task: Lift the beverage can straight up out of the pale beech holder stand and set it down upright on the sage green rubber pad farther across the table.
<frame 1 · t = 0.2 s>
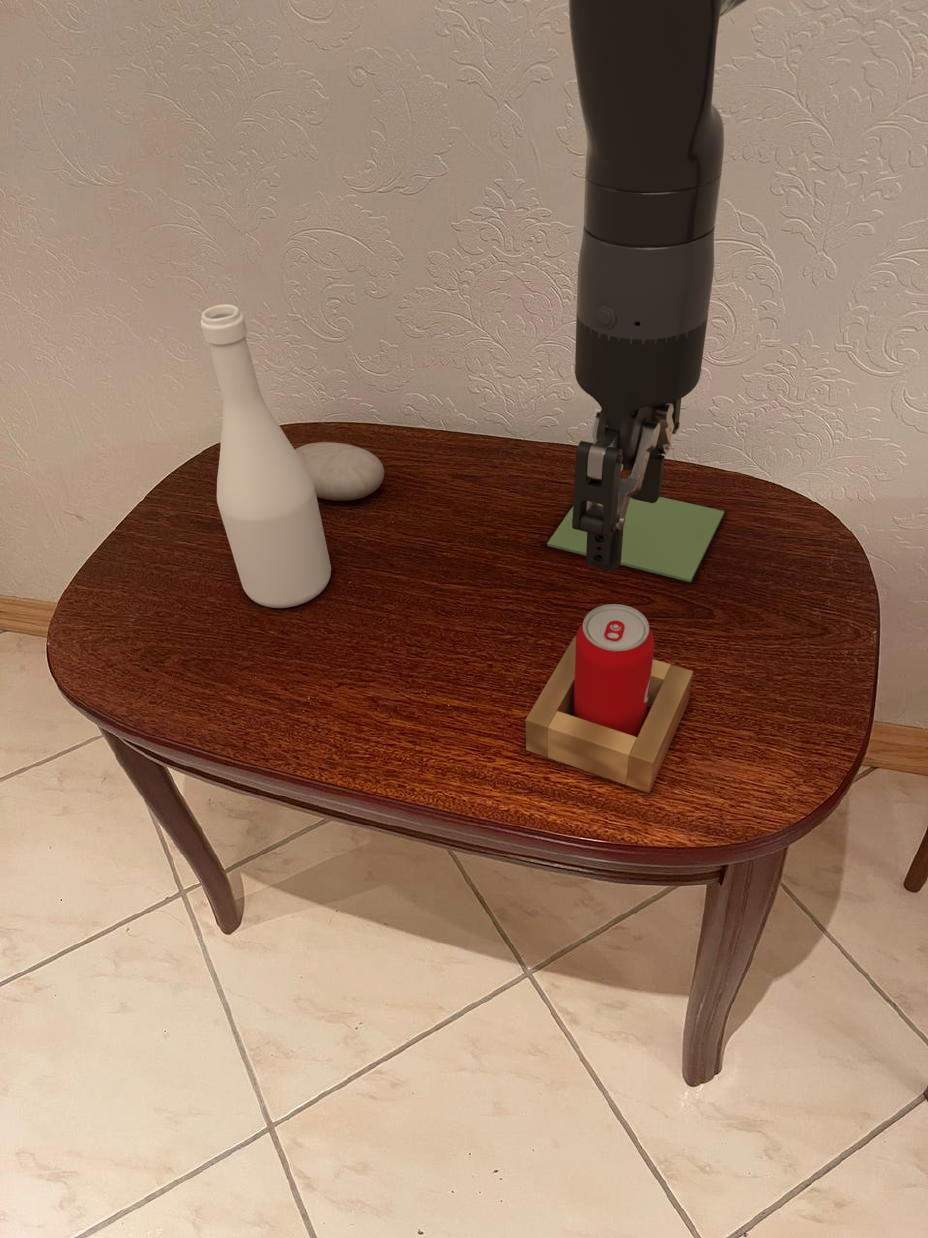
hand: (624, 530, 62), 22 cm above the table, tool pointing down, fingers open, 8 cm apart
stand: (608, 725, 78), on the table
decorative stone: (336, 490, 108), on the table
wine bottle: (289, 584, 95), on the table
pad: (636, 529, 98), on the table
beverage can: (608, 727, 78), resting in stand
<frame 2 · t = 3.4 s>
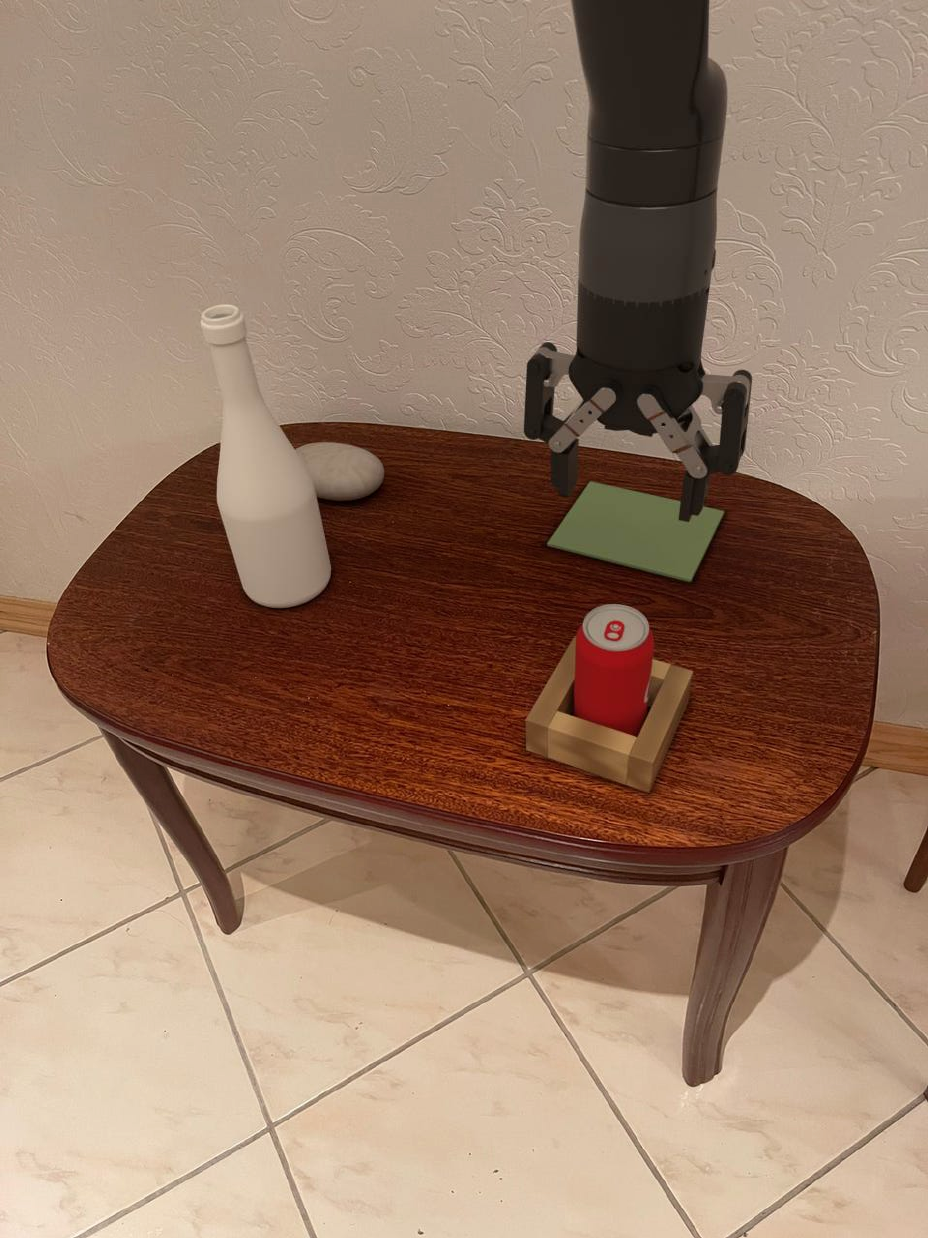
hand: (626, 502, 62), 24 cm above the table, tool pointing down, fingers open, 8 cm apart
nothing on the table moved.
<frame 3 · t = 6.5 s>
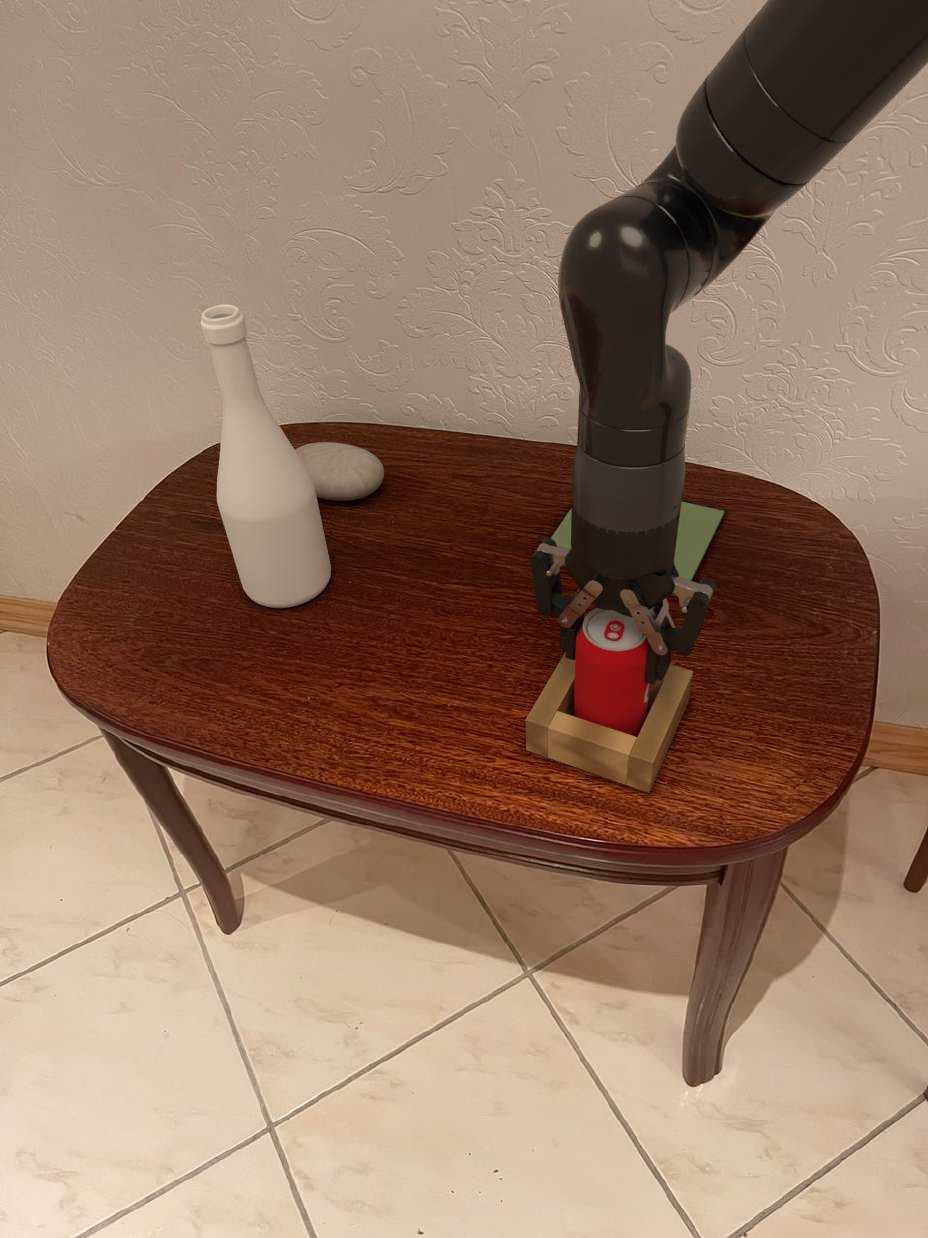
hand: (613, 664, 73), 8 cm above the table, tool pointing down, fingers closed on beverage can, 6 cm apart
beverage can: (608, 727, 78), resting in stand, touching gripper
everything else where it was.
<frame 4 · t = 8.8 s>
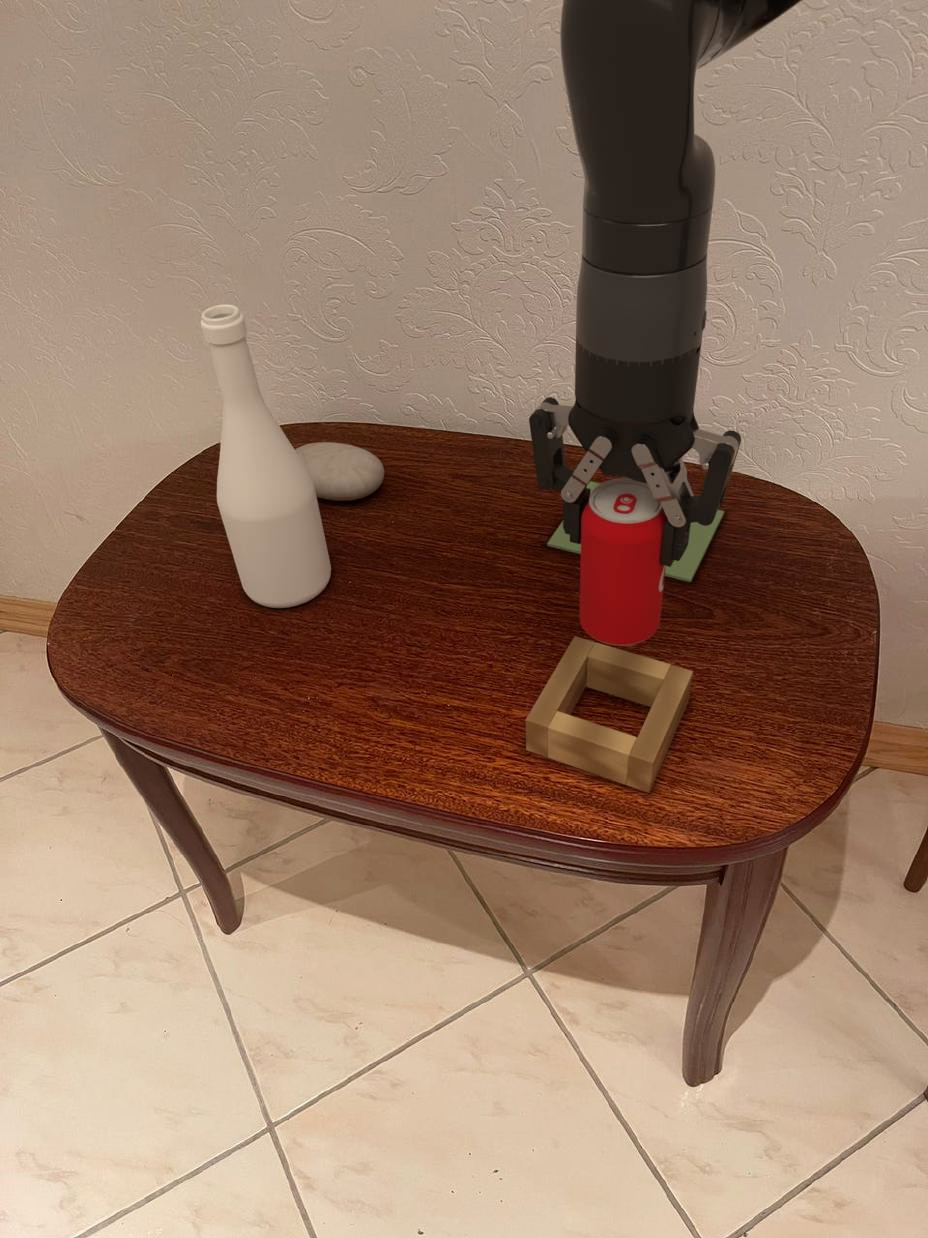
hand: (623, 547, 65), 20 cm above the table, tool pointing down, fingers closed on beverage can, 6 cm apart
beverage can: (618, 626, 70), point 12 cm above the table, touching gripper
everything else where it was.
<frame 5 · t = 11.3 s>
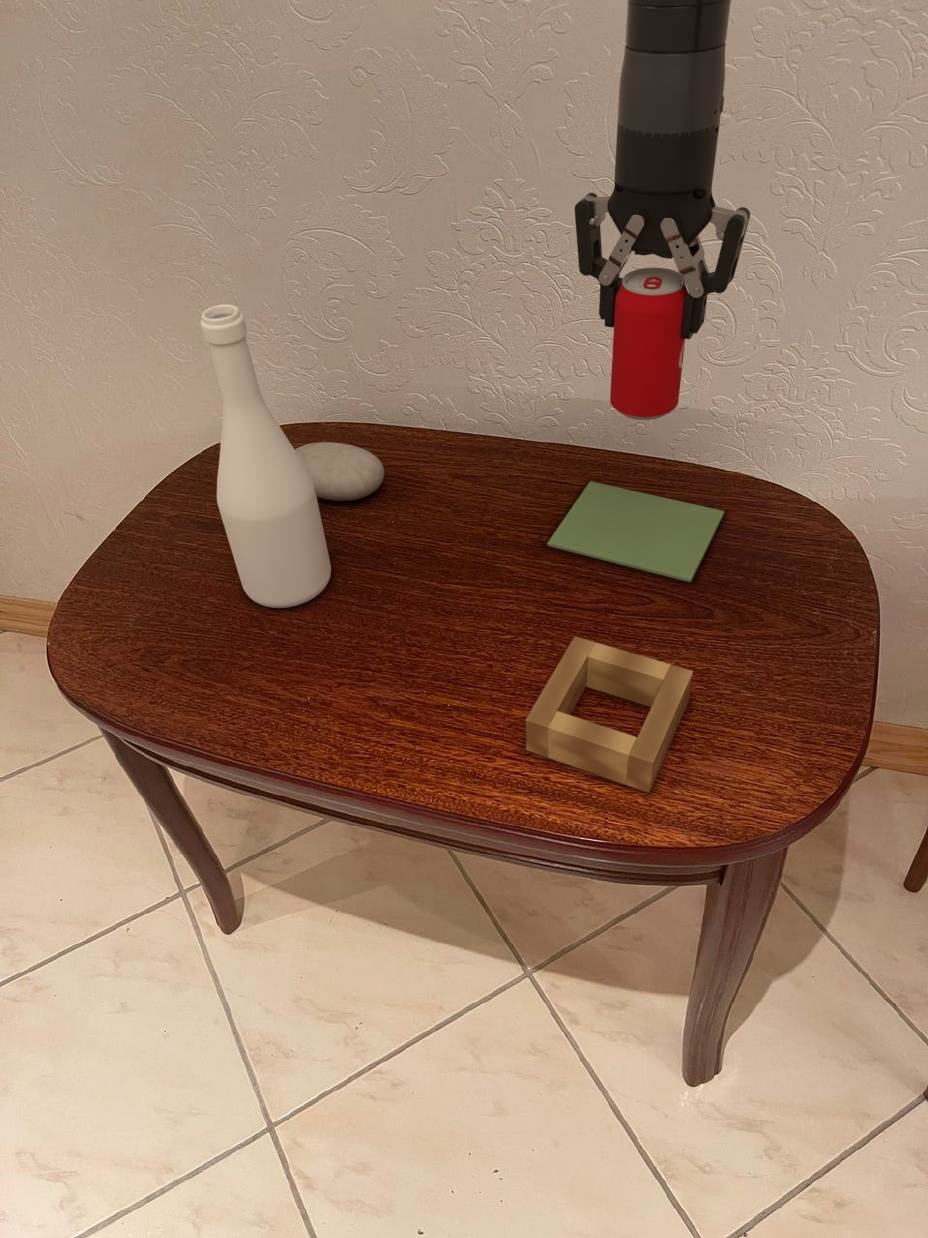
hand: (650, 328, 77), 26 cm above the table, tool pointing down, fingers closed on beverage can, 6 cm apart
beverage can: (642, 409, 83), point 18 cm above the table, touching gripper
everything else where it was.
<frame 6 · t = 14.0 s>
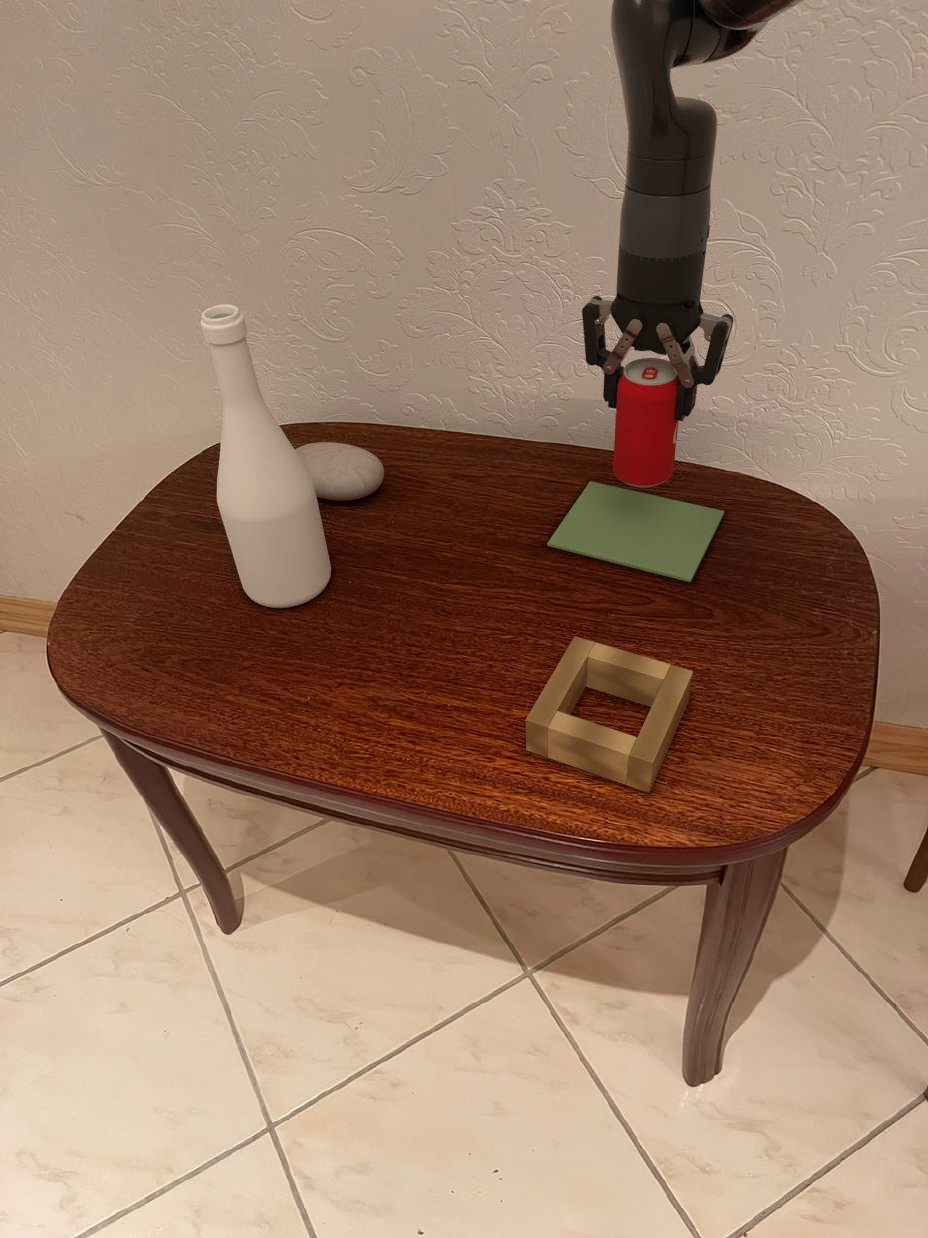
hand: (647, 410, 88), 15 cm above the table, tool pointing down, fingers closed on beverage can, 6 cm apart
beverage can: (642, 477, 93), point 7 cm above the table, touching gripper
everything else where it was.
when the fingers open (8 cm above the table, at t = 16.2 s): beverage can stays where it is, resting on pad.
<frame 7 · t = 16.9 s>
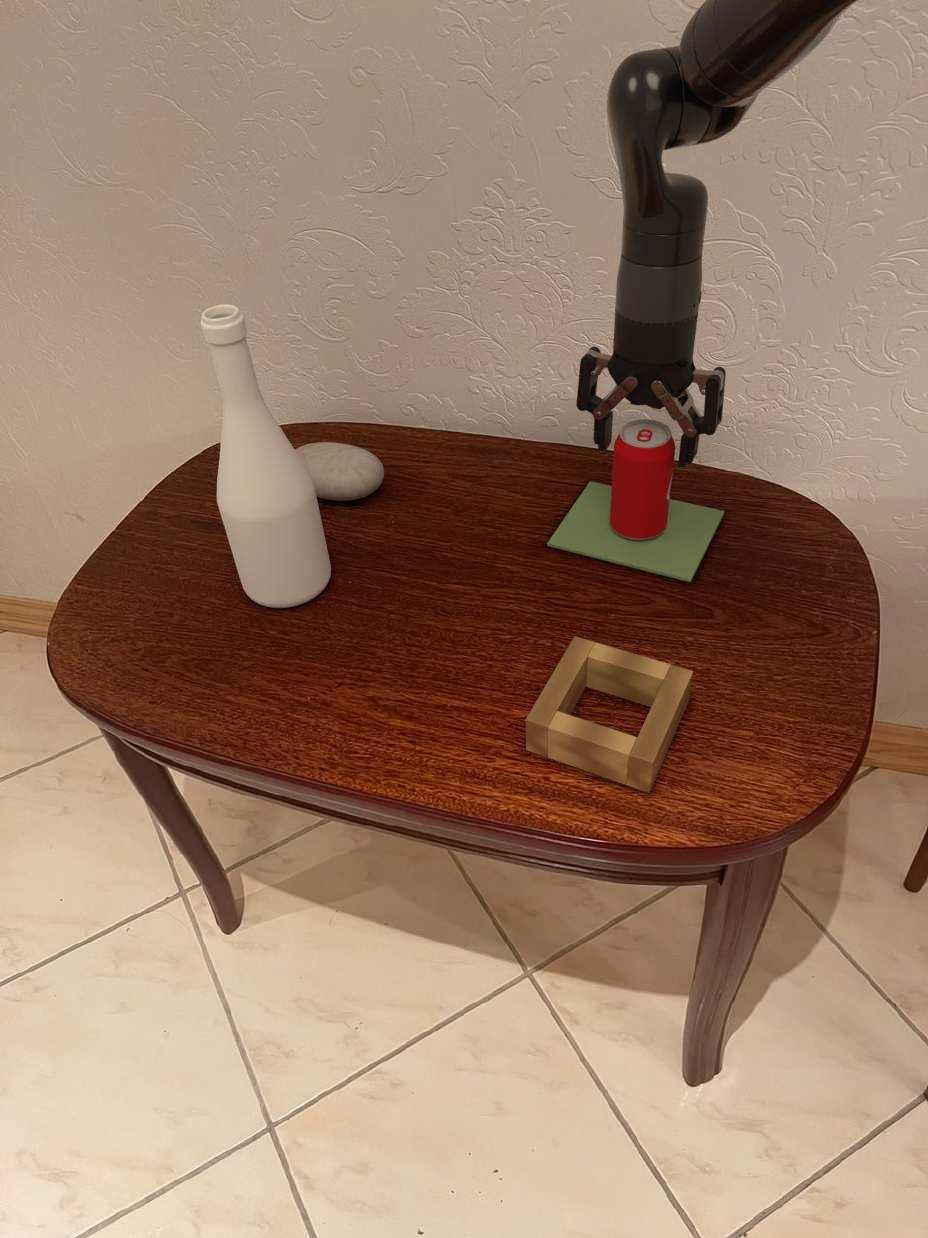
hand: (643, 455, 92), 10 cm above the table, tool pointing down, fingers open, 8 cm apart
beverage can: (637, 528, 98), resting on pad
everything else where it was.
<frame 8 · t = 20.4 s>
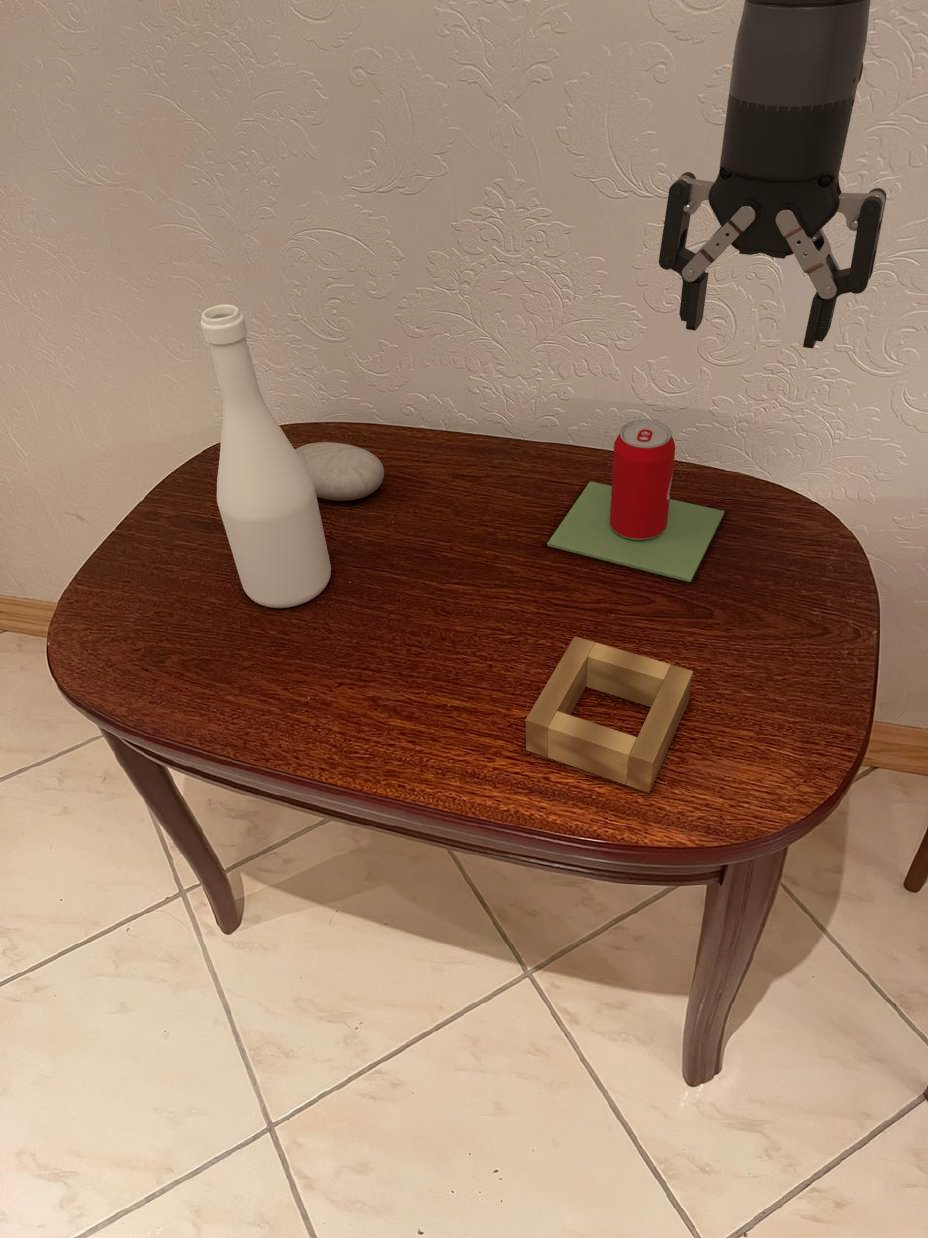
hand: (751, 334, 66), 30 cm above the table, tool pointing down, fingers open, 8 cm apart
nothing on the table moved.
at the end: beverage can inside the target area on the pad (0.1 cm from its centre), point 0.2 cm above the pad's base; beverage can tilted 0°; the gripper is holding nothing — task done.
